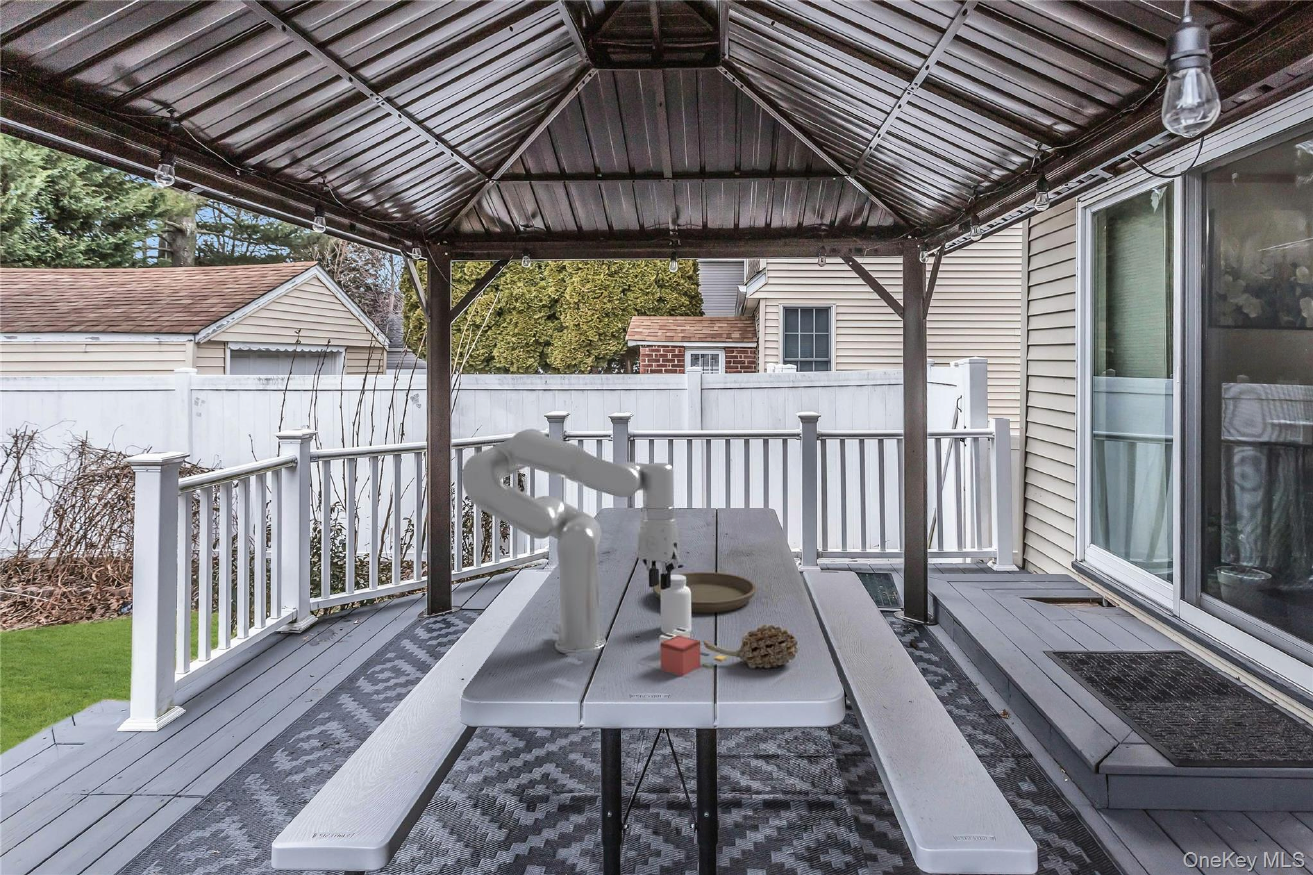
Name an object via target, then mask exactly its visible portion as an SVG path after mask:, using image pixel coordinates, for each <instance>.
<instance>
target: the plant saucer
mask: <svg viewBox="0 0 1313 875" xmlns="http://www.w3.org/2000/svg"><path fill="white" fill-rule="evenodd" d="M676 575H683V576H685V577H686V585H685V586H687V587H688V588H689V589H690V591H691V613H696V614H697V613H699V614H701V613H702V614H705V613H722V612H723V613H724V612H729V611H733V610H736V609H740V608H742V607H744V606H746V605H747V604H748V603H749V601H750V600H751V599H752V598H754V596H755V594H756V592H757V585H756V583H755V582H753V581H752V580H750V579H748V578H745V577H742V576H740V575H736V574H730V573H723V572H709V571H705V572H704V571H701V572H700V571H699V572H683V573H678V574H676ZM661 590H662V589H661V580H660V579H659V585H657V586H654V587H652V591H653V593H654V595H655V597H657V598H658V600H660V601H661Z"/></svg>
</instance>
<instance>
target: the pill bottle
mask: <svg viewBox="0 0 1313 875" xmlns="http://www.w3.org/2000/svg"><path fill="white" fill-rule="evenodd" d="M685 585H686V577H685V576H683V575H677V574H671V587H670V588H667V589H665V590H661V600H660V631H661V633H663V634H666V633H670V634H673V630H675V629H677V628H680V627H681V628H685V629H689V630H690V632H691V631H692V612H691V591H690V589H689V588H688V587H687V586H685Z"/></svg>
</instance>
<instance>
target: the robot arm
mask: <svg viewBox="0 0 1313 875" xmlns="http://www.w3.org/2000/svg"><path fill="white" fill-rule="evenodd" d="M525 468H529V469H533V470H537V471H542V472H544V473H548V474H549V475H554V476H557V477H561V478H563V479H564V478H565V479H567V480H569V481H571V482H573V483H576V484H579V485H581V486H584V487H585V488H589V489H591V490H594V491H597V492H601V493H604V494H608V495H611V496H613V497H619V498H629V497H631V496H634V495H635V494H636V493H637V492H638V491H642V507H641V508H640V512H641V513H642V515H643V517H642V518H640V521H639V528H638V535H637V558H638V559H639V560H640V561H642V562H643V564H644V565H645V568H646V571H647V572H648V588H653V587H654V586H657V585H659V580H661V589H662V590H665V589H667V588H670V587H671V575H672V572H673V571H674V569H675V568H677V567H678V566H680V565H682V564H683V561H682V559H681V556H680V538H679V530H678V524H677V520H676V519H675V510H674V509H675V506H674V505H675V503H674V500H675V499H674V498H675V497H674V496H675V494H674V493H675V492H674V491H675V490H674V489H675V488H674V469H673V466H672V464H670V463H667V462H651V463H641V462H633V461H624V462H621V463H619V464H618V463H614V462H611V461H608V460H605V459H602V458H599V457H596V456H594V455H592V454H590V453H589V452H587V451H586V450H585V449H584V448H582V447H581V446H578V445H577V444H574V443H570V442H568V441H563V440H559V439H557V438H555V437H554V438H553V437H550V436H546V435H545V434H544V433H543V432H542V431H541V430H539V429H534V428H528V429H524V430H521V431H518V432H517V433H515V434H514V435H513V436H512V437H510V438H509V439H506V440H505V441H503V442H501V443H499V444H496V445H494V446H493V447H490V448H488V449H486V450H482V451H480V452H477V453H475V454H474V455H472V456H470V457H469V458H468V459H467V460H466V462H465V463H464V466H463V468H462V473H461V474H462V476H461V479H462V481H461V482H462V485H463V490H464V492H465V494H466V496H467V497H468V499H469V500H470V501H471V503H473V504H474V505H475V506H476V507H478V508H479V509H480V510H482V511H484V512H485V513H487V514H488V515H491V516H493V517H495V518H497V519H498V520H500V521H502V522H503V523H506V524H507V525H509V526H511V527H513V528H515V529H517V530H518V531H520V532H521V533H525V534H526V535H528V536H530V537H531V538H534V539H538V540H544V539H546V538H548V537H551V538H554V539H556V541H557V544H556V550H557V551H556V552H557V559H558V560H557V561H558V570H559V571H558V572H559V573H558V575H559V596H560V598H559V599H560V622H558V623H556V625H555V627H554V628H553V629H552V633H554V634H557V635H558V639H557V641H555V643H554V644H555V646H554V647H555V649H556V650H557V651H558V652H559V653H561V654H564V655H566V654H569V653H584V652H591V651H595V650H598V649H601V648H603V647H604V646H606V643H607V641H606V638H604V637H603V636H602V635H600V634H601V632H600V598H599V594H600V592H599V591H600V590H599V569H598V566H599V565H598V564H599V563H598V545H599V544H600V542H601V538H602V529H601V525H600V523H599V522H598V521H597V519H595V518H594V517H593V516H591V515H590V514H588V513H586V512H584V511H583V510H580V509H578V508H577V507H575V506H573V505H571V504H569V503H567V502H565V501H562V500H561V499H559V498H556V497H554V496H549V495H543V496H537V497H536V498H535V497H532V496H531V495H529V494H527V493H526V492H525V493H524V492H523V491H521V490H519V489H517V488H515V487H513V486H510V485H508V484H505V483H504V482H502V480H503V479H504V478H507V477H509V476H512V475H513V474H515V473H517V472H519V471H521V470H523V469H525ZM658 563H660V564H661V572H662V573H660V571H659V568H657V567H658Z"/></svg>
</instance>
